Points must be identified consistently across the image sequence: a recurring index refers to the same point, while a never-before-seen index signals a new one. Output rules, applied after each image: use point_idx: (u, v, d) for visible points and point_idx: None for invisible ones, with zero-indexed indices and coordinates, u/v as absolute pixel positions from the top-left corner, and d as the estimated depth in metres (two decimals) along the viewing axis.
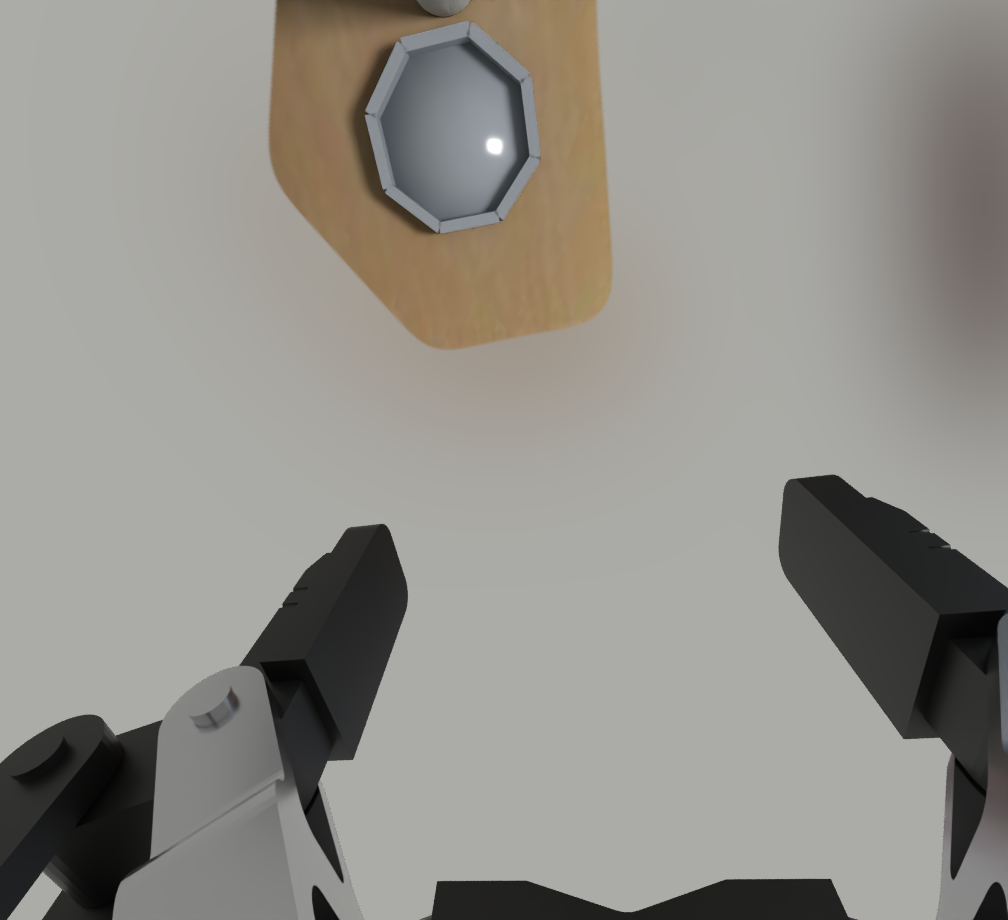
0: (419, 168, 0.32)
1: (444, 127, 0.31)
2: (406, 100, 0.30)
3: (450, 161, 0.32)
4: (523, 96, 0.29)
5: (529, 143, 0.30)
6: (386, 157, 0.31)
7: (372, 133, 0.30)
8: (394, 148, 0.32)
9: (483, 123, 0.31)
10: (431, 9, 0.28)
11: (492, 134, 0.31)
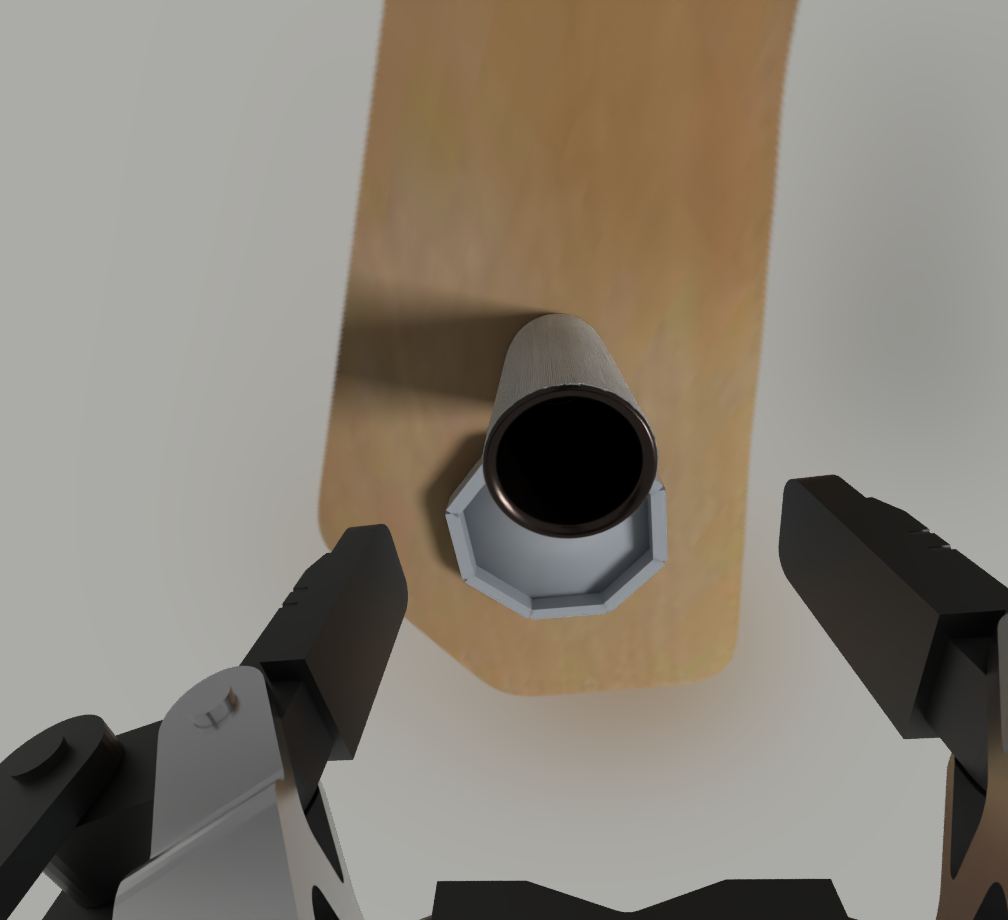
0: (507, 551, 0.25)
1: None
2: None
3: (547, 547, 0.25)
4: (652, 507, 0.23)
5: (654, 549, 0.24)
6: (468, 548, 0.25)
7: (453, 530, 0.24)
8: (478, 532, 0.25)
9: None
10: None
11: None
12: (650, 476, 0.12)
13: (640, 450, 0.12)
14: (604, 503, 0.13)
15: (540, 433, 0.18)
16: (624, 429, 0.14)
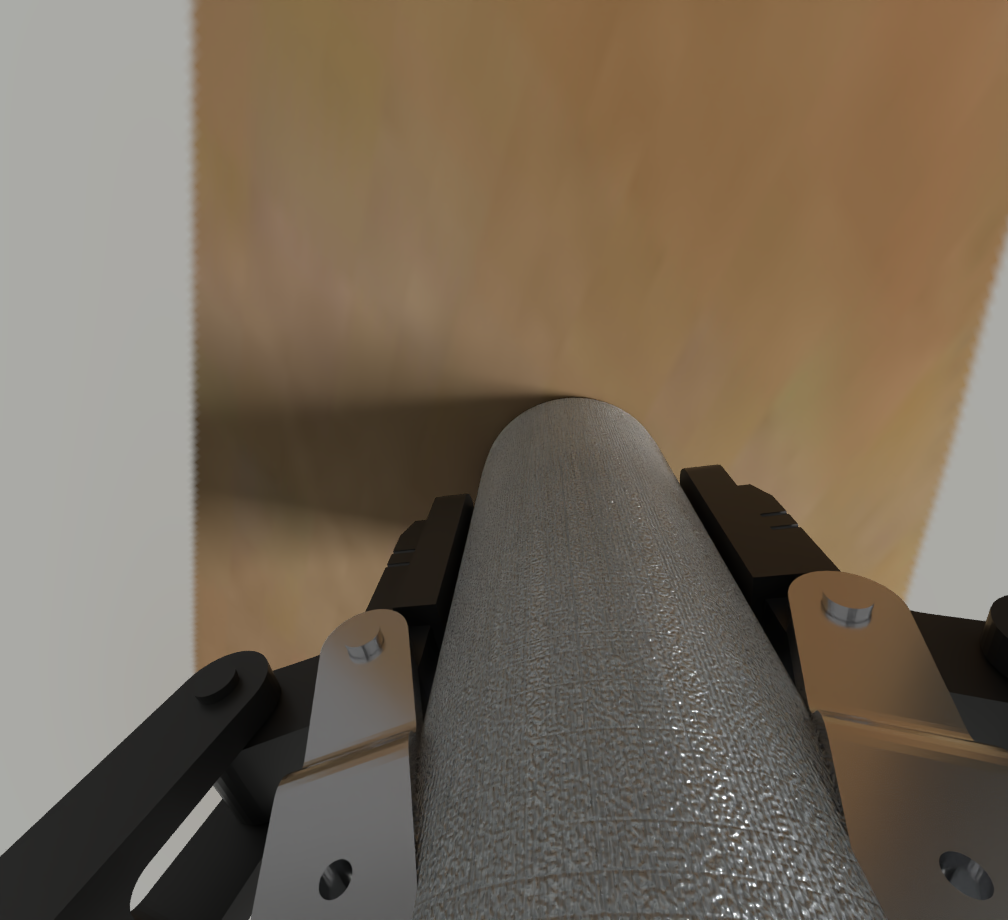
0: None
1: None
2: None
3: None
4: None
5: None
6: None
7: None
8: None
9: None
10: None
11: None
12: None
13: None
14: None
15: None
16: None
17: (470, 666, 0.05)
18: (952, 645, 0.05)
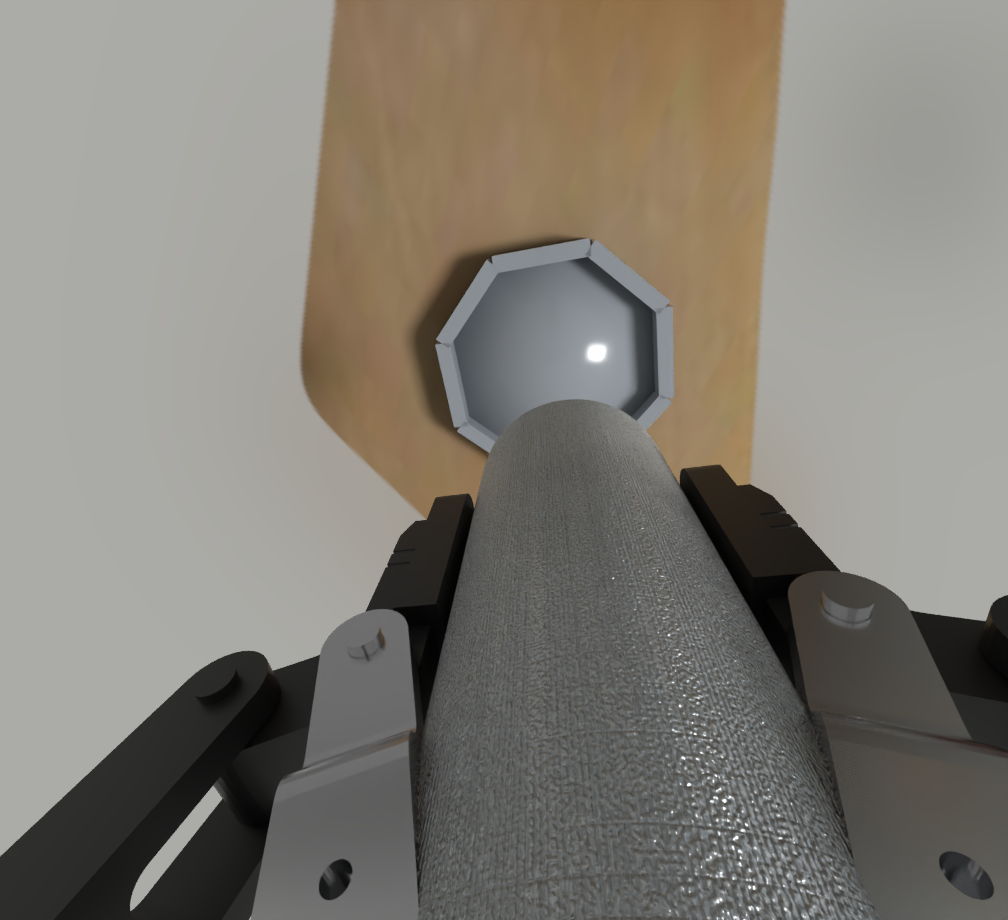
0: (503, 398, 0.24)
1: (540, 353, 0.23)
2: (491, 321, 0.22)
3: (545, 391, 0.23)
4: (658, 329, 0.21)
5: (660, 382, 0.22)
6: (461, 390, 0.23)
7: (444, 365, 0.22)
8: (471, 375, 0.23)
9: (594, 350, 0.22)
10: None
11: (606, 363, 0.23)
12: None
13: None
14: None
15: None
16: None
17: (471, 668, 0.05)
18: (952, 644, 0.05)
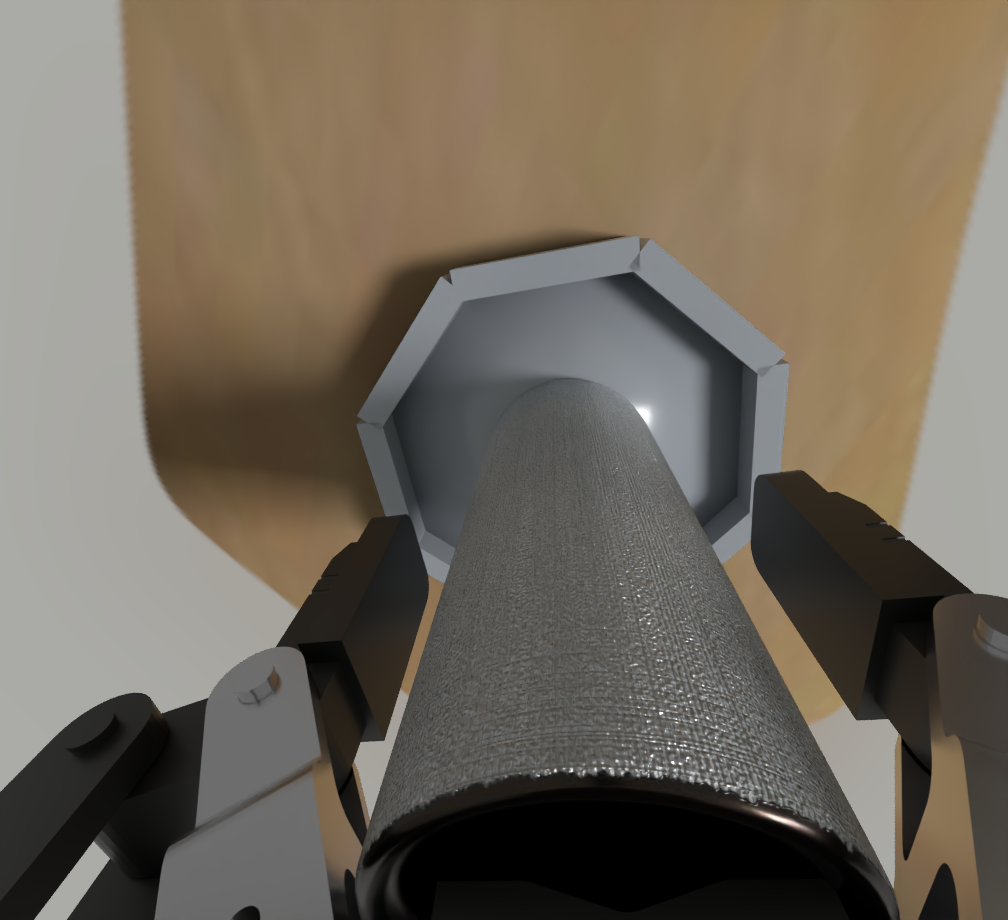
0: None
1: None
2: (456, 382, 0.13)
3: None
4: (759, 402, 0.11)
5: None
6: (406, 495, 0.14)
7: (374, 458, 0.13)
8: (424, 467, 0.14)
9: None
10: None
11: None
12: None
13: None
14: None
15: None
16: None
17: (471, 565, 0.06)
18: None
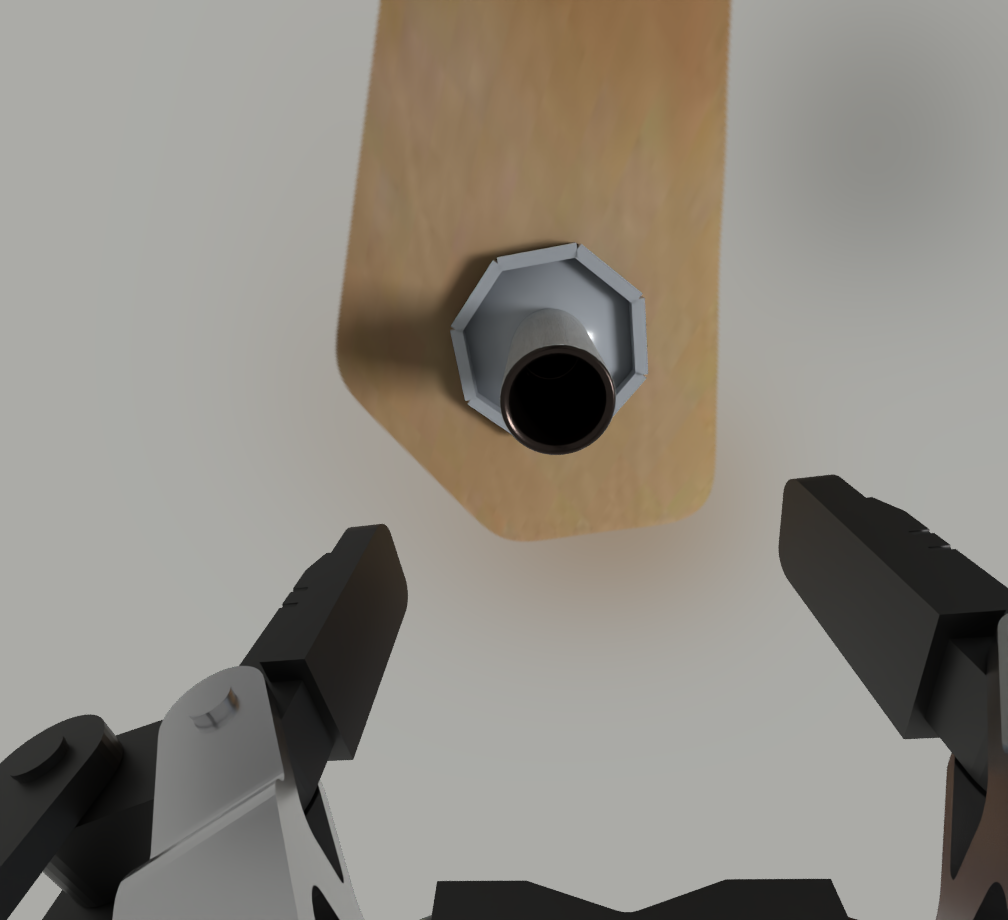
0: None
1: None
2: (496, 311, 0.27)
3: None
4: (633, 316, 0.26)
5: (636, 361, 0.27)
6: (471, 369, 0.28)
7: (457, 347, 0.27)
8: (479, 356, 0.28)
9: None
10: None
11: None
12: (611, 407, 0.18)
13: (604, 390, 0.18)
14: (582, 431, 0.19)
15: (538, 396, 0.24)
16: (597, 383, 0.20)
17: (518, 346, 0.20)
18: None
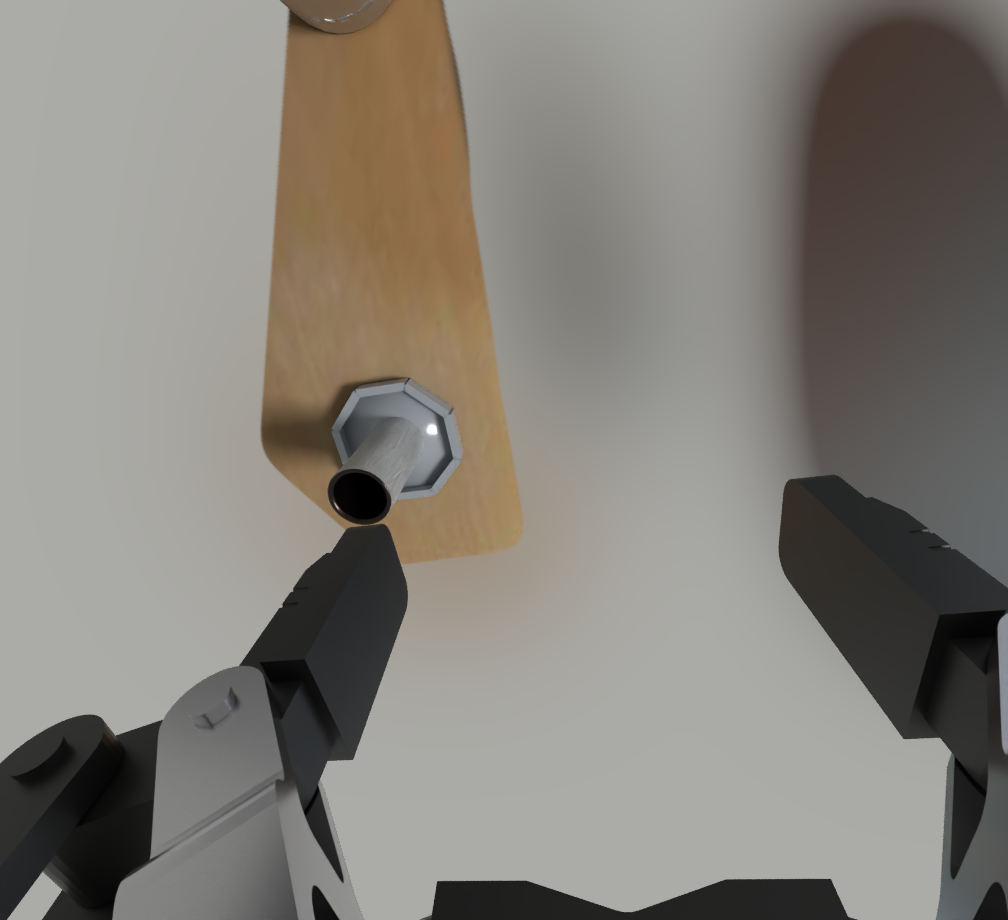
0: None
1: None
2: (362, 418, 0.41)
3: None
4: (446, 425, 0.40)
5: (452, 451, 0.41)
6: (348, 454, 0.42)
7: (337, 441, 0.41)
8: (354, 445, 0.42)
9: None
10: None
11: (426, 439, 0.42)
12: (388, 500, 0.32)
13: (384, 491, 0.32)
14: (380, 511, 0.34)
15: None
16: None
17: (349, 458, 0.35)
18: None
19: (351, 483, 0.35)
